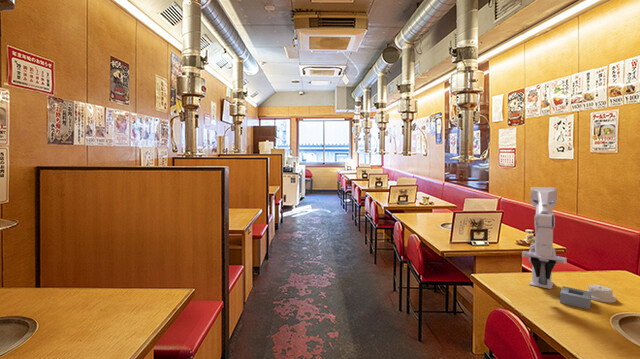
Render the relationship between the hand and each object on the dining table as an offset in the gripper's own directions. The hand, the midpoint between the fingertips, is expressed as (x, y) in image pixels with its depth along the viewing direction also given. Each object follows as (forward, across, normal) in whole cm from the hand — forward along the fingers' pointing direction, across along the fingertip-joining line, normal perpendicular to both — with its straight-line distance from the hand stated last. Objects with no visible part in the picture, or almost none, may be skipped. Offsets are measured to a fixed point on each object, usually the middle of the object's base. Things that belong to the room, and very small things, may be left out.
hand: (542, 277), depth 129 cm
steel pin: (+2, 0, 0) cm, 2 cm away
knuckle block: (+9, +10, +6) cm, 15 cm away
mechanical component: (+10, +17, +18) cm, 27 cm away
